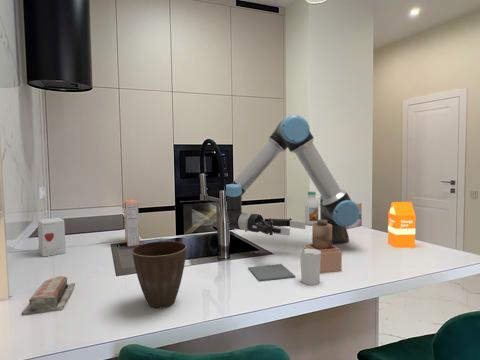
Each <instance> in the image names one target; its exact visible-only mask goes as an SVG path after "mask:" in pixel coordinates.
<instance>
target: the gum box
mask: <svg viewBox="0 0 480 360" xmlns="http://www.w3.org/2000/svg"><path fill="white" fill-rule="evenodd" d="M356 204H357V205H358V207H359V209H360V215H359V218H358V220H357V221H356V223H354V224H353V225H351V226H347V227H346V230H349V229H353V228H357V227H362V226H363V224H362V221H363V219H362V218H363V217H362V215H363V214H362V203H361V202H360V203H356Z"/></svg>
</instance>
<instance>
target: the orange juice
mask: <svg viewBox="0 0 480 360" xmlns="http://www.w3.org/2000/svg"><path fill="white" fill-rule="evenodd" d="M390 205H391V206H390V209H389V210H388V214H387V215H388V222H387V223H388V224H387V244H389V245H390V246H392V247H393V248H395V249H398V248H399V249H403V248H405V249H406V248H409V249H410V248H412V249H413V248H414V249H415V248H416V217H417V216H416V213H415V209H414V206H413V203H412V201H393V202H391V204H390Z"/></svg>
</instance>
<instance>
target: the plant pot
mask: <svg viewBox="0 0 480 360" xmlns="http://www.w3.org/2000/svg"><path fill="white" fill-rule="evenodd" d="M187 249H188V247H187V245H186V244H185V243H183V242H181V241H174V240H173V241H172V240H162V241H161V240H160V241H152V242H146V243H143V244H140V245H138V246H134V247H133V248H132V250H131V252H132V253H131V254H132V259H133V263H134V268H135V272H136V276H137V279H138V283H139V285H140V289H141V292H142V293H143V297H144V299H145V301H146V303H147V305H148V306H149V307H150V308H152V307H153V309H164V307H165V308H168V307H171V306H172V305H174V304H175V301H176V299H177V296H178V292H179V289H180V286H181V284H182V283H181V282H182V279H183V274H184V270H185V269H184V268H185V263H186V255H187ZM170 305H171V306H170Z"/></svg>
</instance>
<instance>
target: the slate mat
mask: <svg viewBox="0 0 480 360" xmlns="http://www.w3.org/2000/svg"><path fill="white" fill-rule="evenodd" d="M247 268H248V270H249V271H250V273H251V274H252V275H253V276H254V278H255V279H256V280H257V281H258V282H268V281H277V280H286V279H294V278H296V275H295V274H294V273H293V272H292V271H291V270H289V269H288V268H287V267H285V266H284V264H282V263H277V264H268V265H267V264H266V265H256V266H248V267H247Z"/></svg>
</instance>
